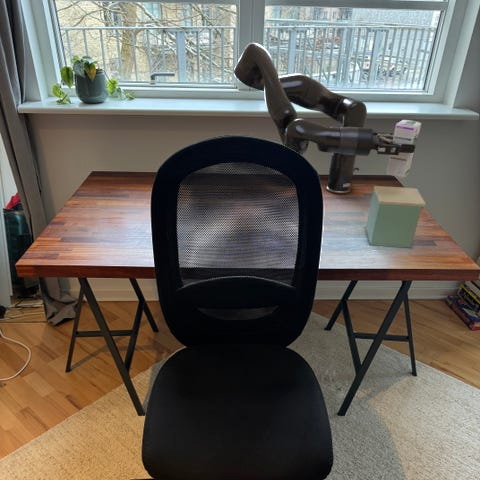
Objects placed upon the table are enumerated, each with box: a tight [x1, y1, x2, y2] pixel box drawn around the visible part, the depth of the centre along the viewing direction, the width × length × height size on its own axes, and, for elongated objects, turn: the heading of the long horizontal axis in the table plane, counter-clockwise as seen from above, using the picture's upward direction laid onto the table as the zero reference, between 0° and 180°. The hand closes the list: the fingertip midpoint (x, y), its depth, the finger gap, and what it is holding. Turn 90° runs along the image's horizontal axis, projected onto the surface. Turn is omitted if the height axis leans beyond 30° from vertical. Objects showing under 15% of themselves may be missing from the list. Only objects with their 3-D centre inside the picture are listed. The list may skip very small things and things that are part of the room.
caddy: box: [365, 189, 423, 249], centre depth 145 cm, size 13×13×14 cm
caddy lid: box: [373, 185, 426, 208], centre depth 140 cm, size 13×13×1 cm
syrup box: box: [385, 119, 422, 179], centre depth 132 cm, size 6×6×14 cm
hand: (411, 144), depth 131 cm, fingers closed on syrup box, 7 cm apart
